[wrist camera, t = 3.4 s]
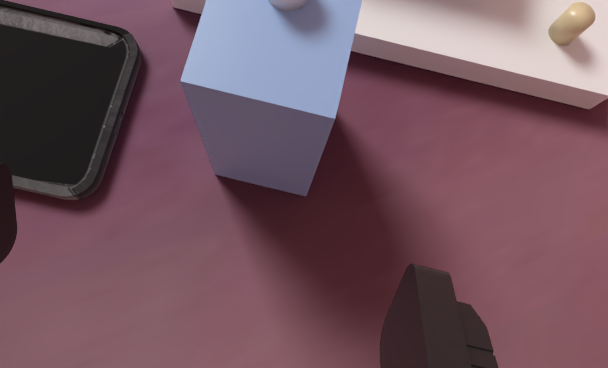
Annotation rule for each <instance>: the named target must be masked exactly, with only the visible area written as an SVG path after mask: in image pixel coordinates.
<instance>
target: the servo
mask: <svg viewBox="0 0 608 368" xmlns="http://www.w3.org/2000/svg"><path fill="white" fill-rule="evenodd" d="M361 3H362V0H206V3H205V6H204V9H203V12H202V15H201V18H200V21H199V24H198V28H197V31H196V34H195V37H194V40H193V43H192V46H191V49H190V52H189V56H188V59H187V62H186V65H185V68H184V71H183V74H182V77H181V80H180V82H181V84H182V87H183V90H184V92H185V95H186V98H187V100H188V103H189V106H190V108H191V111H192V114H193V117H194V119H195V122H196V125H197V127H198V130H199V133H200V135H201V138H202V141H203V143H204V146H205V149H206V151H207V154H208V157H209V160H210V162H211V165H212V168H213V170H214V173H215V175H219V176H223V177H227V178H231V179H235V180H239V181H243V182H248V183H252V184H256V185H260V186H264V187H268V188H273V189H277V190H281V191H285V192H289V193H293V194H297V195H302V196H307V193H308V191H309V188H310V185H311V183H312V180H313V177H314V175H315V172H316V169H317V167H318V164H319V161H320V158H321V156H322V153H323V150H324V148H325V145H326V142H327V140H328V137H329V134H330V132H331V129H332V126H333V124H334V121H335V118H336V113H337V109H338V105H339V100H340V96H341V91H342V87H343V83H344V78H345V74H346V69H347V65H348V60H349V56H350V52H351V47H352V43H353V38H354V34H355V30H356V25H357V21H358V16H359V12H360V8H361Z"/></svg>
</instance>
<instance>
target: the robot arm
mask: <svg viewBox="0 0 608 368" xmlns="http://www.w3.org/2000/svg"><path fill="white" fill-rule="evenodd" d="M16 235H17V221H16V211H15V201H14V191H13V181H12V174H11V171H10V169H9V167H8V166H7V165H5V164H2V163H0V263H1V262H2V261H3V260H4V259H5V258H6V257H7V255H8V254H9V253H10V251H11V249H12V247H13V245H14V242H15V239H16ZM380 364H381V368H498V365H497V362H496V358H495V356H494V355H493V348H492V344H491V341H490V337H489V334H488V330H487V327H486V326H485V324H484V323H483V321H482V320H481V319H480V317H479V316H478V315H477V313H476V312H475V310H474V309H473V308H472V306H471V305H470V304H466V303H461V302H457V301H456V297H455V293H454V288H453V284H452V280H451V276H450V274H449V273H448V272H444V271H440V270H436V269H432V268H427V267H423V266H419V265H415V264H410V265H409V266H408V267H407V269H406V271H405V273H404V275H403V278H402V280H401V282H400V285H399V287H398V289H397V292H396V294H395V297H394V299H393V301H392V304H391V306H390V308H389V311H388V313H387V315H386V318H385V321H384V324H383V328H382V333H381V341H380Z"/></svg>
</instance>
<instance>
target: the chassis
mask: <svg viewBox="0 0 608 368" xmlns="http://www.w3.org/2000/svg"><path fill="white" fill-rule="evenodd" d="M205 3H206V0H171V4H172V7H174V8H178V9H182V10H186V11H190V12H194V13H198V14H202V12H203V9H204V6H205ZM351 51H353V52H357V53H361V54H365V55H369V56H373V57H378V58H382V59H386V60H390V61H394V62H398V63H402V64H406V65H410V66H414V67H418V68H422V69H426V70H430V71H435V72H439V73H443V74H447V75H451V76H455V77H459V78H463V79H467V80H471V81H475V82H479V83H483V84H487V85H492V86H496V87H500V88H504V89H508V90H512V91H516V92H520V93H524V94H528V95H532V96H536V97H540V98H545V99H549V100H553V101H557V102H561V103H565V104H569V105H573V106H577V107H581V108H585V109H591V108H593V107H594V106H596V105H597V104H599V103H601V102H602V101H604V100H606V99H607V98H608V0H362V3H361V8H360V12H359V16H358V21H357V25H356V30H355V34H354V38H353V43H352V47H351Z"/></svg>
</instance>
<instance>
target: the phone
mask: <svg viewBox="0 0 608 368" xmlns="http://www.w3.org/2000/svg"><path fill="white" fill-rule="evenodd" d="M141 60H142V55H141V51H140V48H139V46H138V44H137V42H136V40H135V39H134V37H133V36H132V35H131V34H130V33H129V32H128V31H126V30H124V29H122V28H119V27H116V26H111V25H107V24H103V23H99V22H94V21H90V20H86V19H81V18H77V17H73V16H69V15H64V14H60V13H56V12H52V11H47V10H43V9H39V8H34V7H30V6H26V5H22V4H17V3H13V2H9V1H4V0H0V163H2V164H5V165H7V166H8V167H9V169H10V171H11V174H12V181H13V188H16V189H20V190H25V191H29V192H34V193H38V194H43V195H47V196H52V197H56V198H60V199H65V200H79V199H83V198H85V197H87V196H89V195H91V194H92V193H93V192H94V191H95V190H96V189H97V188H98V187H99V185H100V183H101V182H102V180H103V177H104V174H105V171H106V168H107V165H108V162H109V159H110V156H111V153H112V150H113V147H114V144H115V141H116V138H117V135H118V132H119V129H120V126H121V123H122V120H123V117H124V114H125V111H126V108H127V105H128V102H129V99H130V96H131V93H132V90H133V87H134V84H135V81H136V78H137V75H138V72H139V69H140V66H141ZM105 163H106V165H105Z"/></svg>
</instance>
